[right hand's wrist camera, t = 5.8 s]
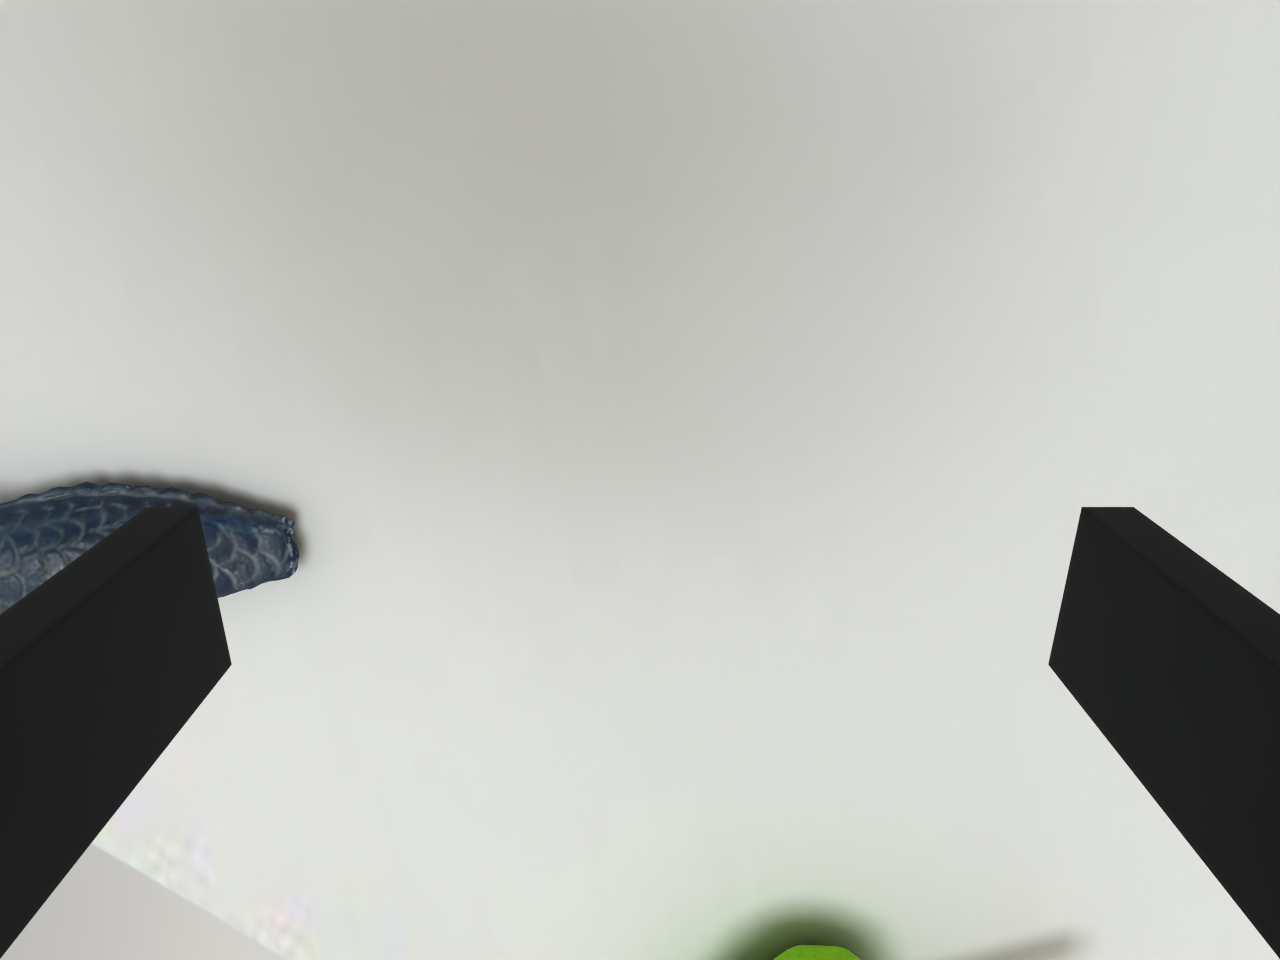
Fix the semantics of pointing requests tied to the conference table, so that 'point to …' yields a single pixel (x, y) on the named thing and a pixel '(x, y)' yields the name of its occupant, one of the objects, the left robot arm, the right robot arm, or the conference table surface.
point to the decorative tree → (817, 953)
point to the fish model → (87, 513)
